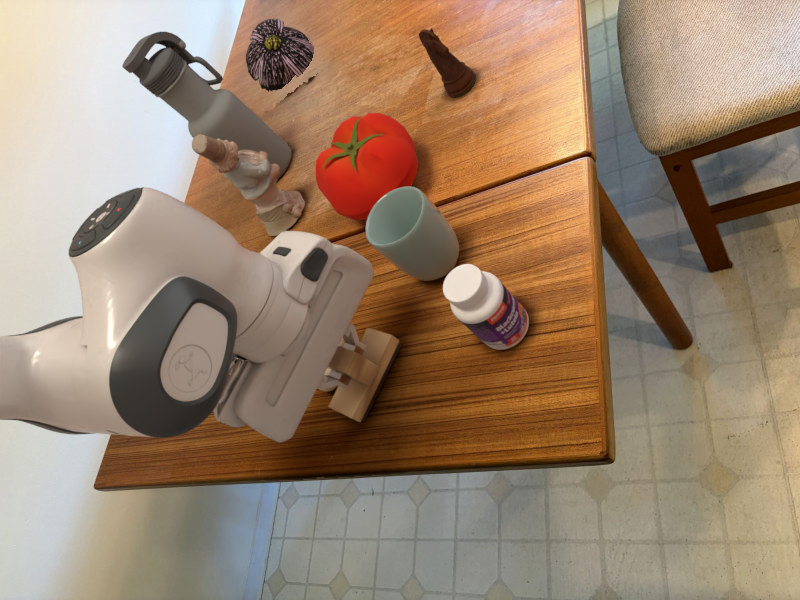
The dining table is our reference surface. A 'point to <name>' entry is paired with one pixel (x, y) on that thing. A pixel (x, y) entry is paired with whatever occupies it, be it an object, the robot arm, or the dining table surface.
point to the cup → (413, 234)
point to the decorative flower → (277, 54)
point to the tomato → (365, 163)
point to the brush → (363, 373)
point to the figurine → (253, 181)
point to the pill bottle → (485, 306)
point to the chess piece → (447, 65)
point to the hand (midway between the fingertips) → (352, 366)
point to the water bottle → (202, 98)
